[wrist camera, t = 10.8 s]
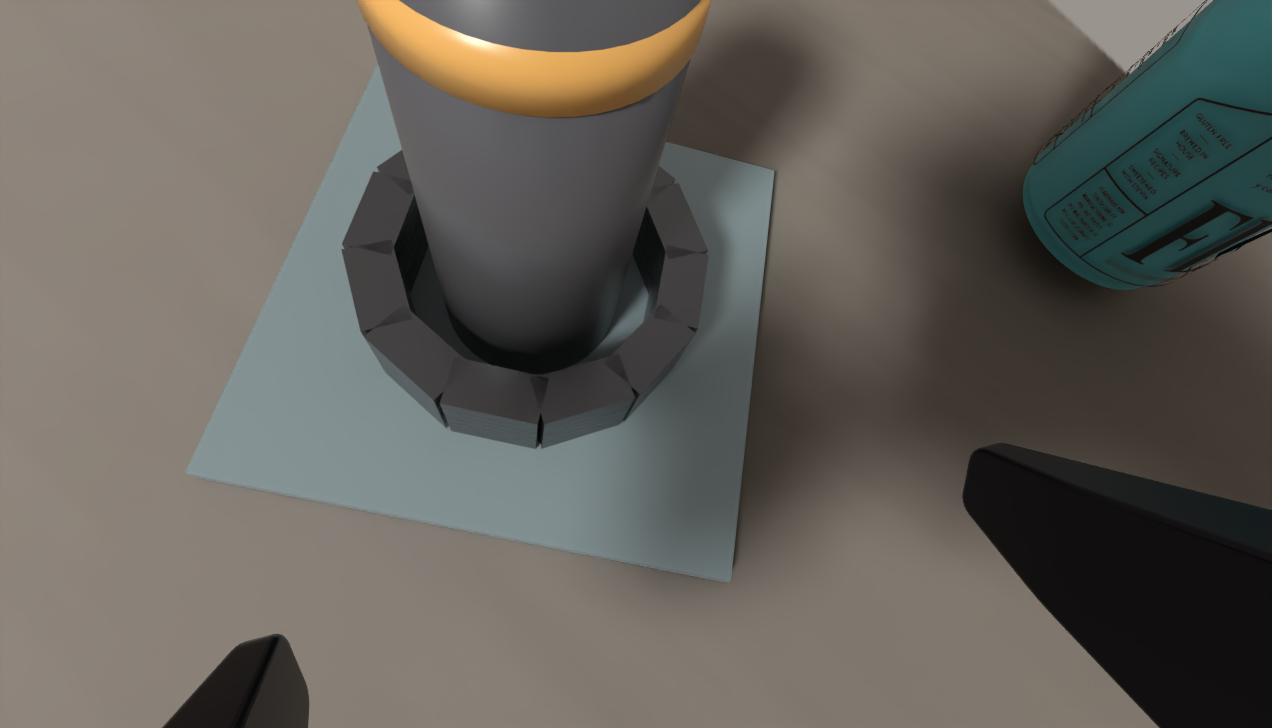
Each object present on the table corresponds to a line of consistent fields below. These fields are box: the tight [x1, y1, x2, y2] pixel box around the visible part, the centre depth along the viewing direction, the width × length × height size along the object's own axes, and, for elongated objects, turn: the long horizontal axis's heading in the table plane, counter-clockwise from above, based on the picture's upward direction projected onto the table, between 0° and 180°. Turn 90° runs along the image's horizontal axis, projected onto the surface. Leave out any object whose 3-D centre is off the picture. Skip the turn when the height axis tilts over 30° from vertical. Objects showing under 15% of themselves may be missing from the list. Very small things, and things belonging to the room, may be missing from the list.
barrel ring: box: [341, 150, 709, 449], centre depth 17 cm, size 9×9×2 cm
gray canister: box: [357, 0, 712, 374], centre depth 12 cm, size 5×5×13 cm
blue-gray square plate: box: [185, 65, 774, 582], centre depth 18 cm, size 14×14×1 cm
